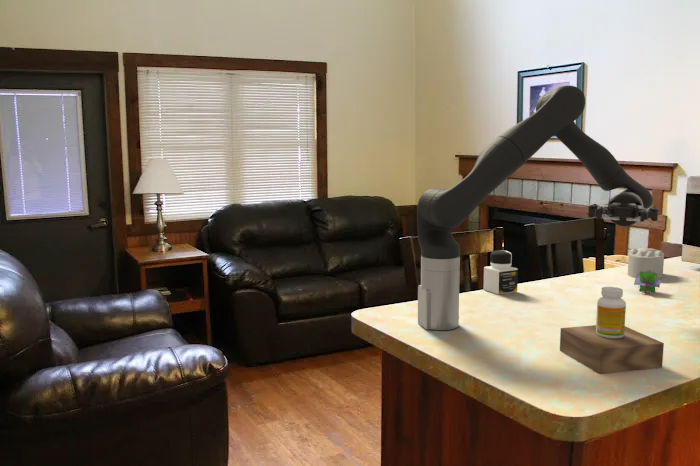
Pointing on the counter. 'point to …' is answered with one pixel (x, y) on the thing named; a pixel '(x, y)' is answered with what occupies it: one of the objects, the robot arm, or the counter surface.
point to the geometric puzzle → (648, 281)
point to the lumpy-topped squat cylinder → (645, 261)
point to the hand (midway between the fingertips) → (620, 215)
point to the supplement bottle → (611, 313)
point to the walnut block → (611, 350)
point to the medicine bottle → (500, 274)
